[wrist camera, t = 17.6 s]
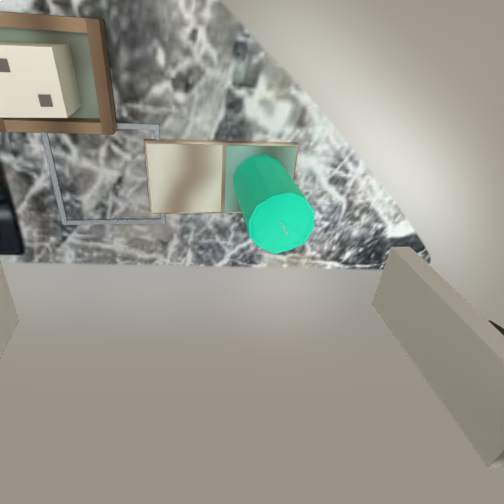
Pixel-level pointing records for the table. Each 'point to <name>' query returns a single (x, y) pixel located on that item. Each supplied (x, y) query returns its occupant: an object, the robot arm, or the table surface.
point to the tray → (85, 66)
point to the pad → (91, 222)
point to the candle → (272, 205)
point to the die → (37, 80)
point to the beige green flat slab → (203, 172)
